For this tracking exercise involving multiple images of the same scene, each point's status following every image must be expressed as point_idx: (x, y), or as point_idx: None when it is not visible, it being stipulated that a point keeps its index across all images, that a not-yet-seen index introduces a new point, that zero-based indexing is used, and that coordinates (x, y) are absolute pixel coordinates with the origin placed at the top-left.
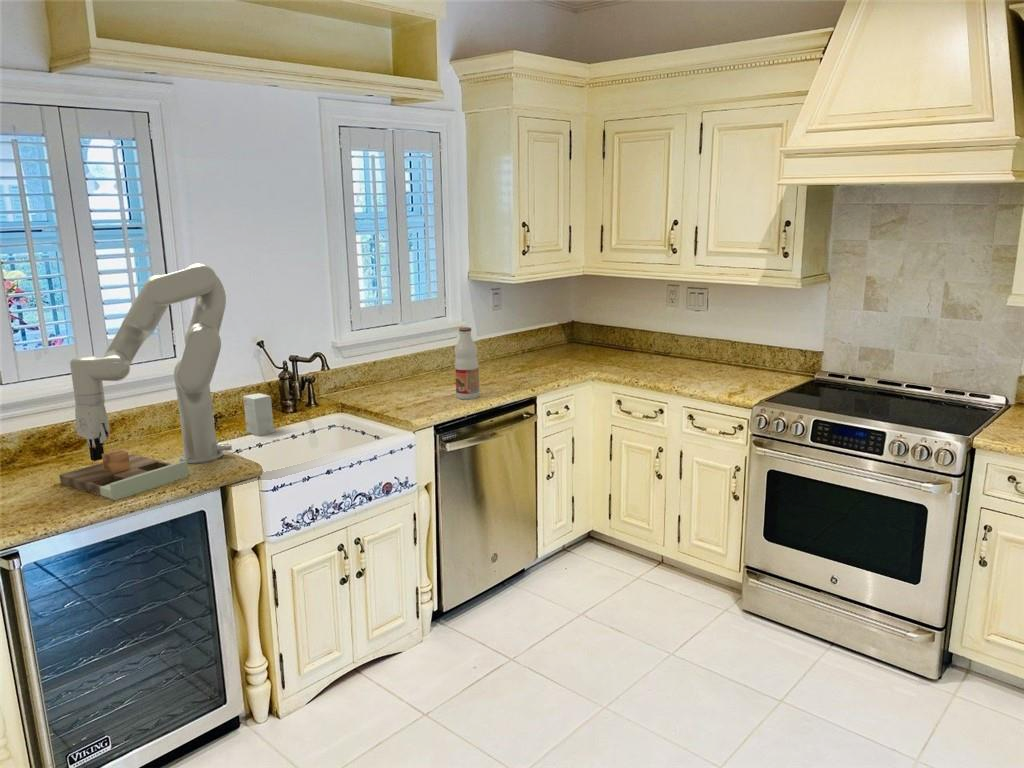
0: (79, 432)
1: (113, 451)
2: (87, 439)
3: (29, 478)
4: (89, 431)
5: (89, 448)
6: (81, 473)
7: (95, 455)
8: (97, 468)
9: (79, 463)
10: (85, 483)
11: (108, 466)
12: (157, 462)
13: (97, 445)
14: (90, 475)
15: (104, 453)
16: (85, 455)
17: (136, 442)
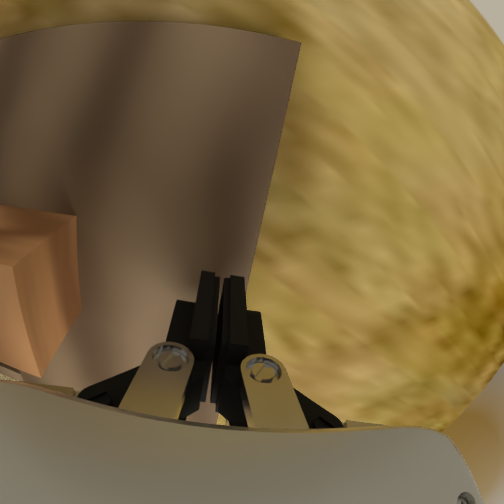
0: (398, 476)
1: (15, 338)
2: (289, 422)
3: (491, 105)
4: (5, 500)
5: (244, 337)
6: (163, 113)
7: (194, 306)
8: (155, 231)
9: (434, 317)
10: (7, 37)
11: (10, 221)
12: (21, 372)
13: (127, 372)
14: (68, 115)
15: (10, 285)
16: (455, 368)
17: None
